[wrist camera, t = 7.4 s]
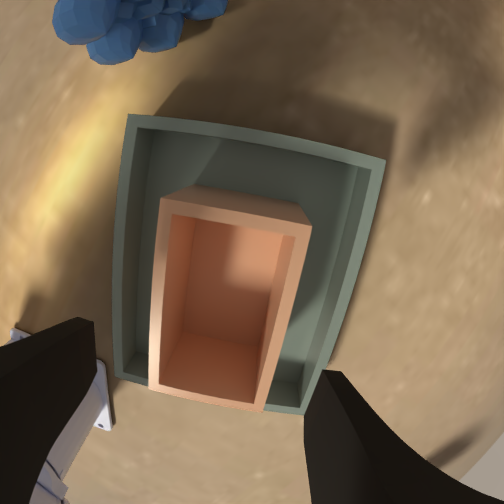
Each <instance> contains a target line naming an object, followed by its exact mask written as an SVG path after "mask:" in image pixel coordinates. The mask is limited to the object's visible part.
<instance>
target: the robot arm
mask: <svg viewBox="0 0 504 504" xmlns="http://www.w3.org/2000/svg"><path fill="white" fill-rule="evenodd" d="M10 335H11V340H9V341H8V342H7V343H6V344H5V345H4V346H1V347H0V504H70V503H69V502H68V500H67V499H65V498H64V496H65V494H66V492H67V490H68V487H67V486H66V485H65V484H64V483H63V482H62V481H63V479H64V477H65V475H66V473H67V472H68V470H69V468H70V466H71V464H72V462H73V461H74V459H75V457H76V455H77V453H78V452H79V450H80V448H81V446H82V445H83V443H84V441H85V439H86V437H87V436H88V434H89V432H90V430H91V429H92V427H93V426H95V427H98V428H101V429H104V430H106V431H111V430H112V428H113V426H112V419H111V412H110V404H109V396H108V387H107V377H106V367H105V364H104V363H103V362H102V361H100V360H98V359H96V349H95V335H94V322H93V321H89V320H86V319H83V318H80V317H76V318H73V319H70V320H68V321H65V322H62V323H60V324H57V325H55V326H53V327H50V328H48V329H45V330H43V331H41V332H38V333H36V334H33V335H30V334H28V333H25V332H23V331H21V330H18V329H16V328H12V329H11V330H10ZM304 448H305V455H306V463H307V470H308V478H309V485H310V493H311V502H312V504H504V501H502V500H499V499H496V498H494V497H491V496H488V495H486V494H483V493H481V492H479V491H476V490H474V489H472V488H470V487H468V486H466V485H464V484H462V483H460V482H459V481H457V480H455V479H454V478H452V477H450V476H448V475H447V474H445V473H444V472H442V471H441V470H439V469H438V468H436V467H435V466H433V465H432V464H431V463H429V462H428V461H427V460H425V459H424V458H423V457H421V456H420V455H419V454H418V453H417V452H415V451H414V450H413V449H412V448H410V447H409V446H408V445H407V444H406V443H405V442H404V441H403V440H402V439H400V438H399V437H398V436H397V435H396V434H395V433H394V432H393V431H392V430H391V429H390V428H389V427H388V426H387V425H386V423H385V422H384V421H383V420H382V419H381V418H380V417H379V416H378V415H377V414H376V412H375V411H374V410H373V409H372V408H371V407H370V406H369V404H368V403H367V402H366V401H365V400H364V398H363V397H362V396H361V395H360V394H359V392H358V391H357V390H356V389H355V388H354V386H353V385H352V384H351V383H350V381H349V380H348V379H347V378H346V377H345V375H344V374H343V373H342V372H341V371H333V370H324V369H322V371H321V374H320V376H319V379H318V382H317V384H316V387H315V389H314V392H313V394H312V397H311V399H310V402H309V404H308V407H307V409H306V412H305V414H304Z"/></svg>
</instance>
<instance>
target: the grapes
mask: <svg viewBox="0 0 504 504" xmlns="http://www.w3.org/2000/svg"><path fill="white" fill-rule="evenodd" d="M227 3H228V0H58V2H57V3H56V5H55V8H54V14H53V20H52V23H53V26H54V29H55V32H56V34H57V37H59V38H60V39H62V40H63V41H65V42H67V43H68V44H70V45H85V44H87V45H86V47H87V50H88V53H89V56H90V58H91V59H92V60H94V61H95V62H97V63H99V64H100V65H115V64H119V63H122V62H126V61H128V60H130V59H132V58H134V56H135V54H136V52H137V50H138V48H139V49H140V50H141V51H143V52H160V51H164V50H169V49H171V48H174V47H176V46H177V44H178V41H179V39H180V36H181V33H182V29H183V25H184V17H185V18H186V19H189V20H195V21H199V20H205V19H211V18H215V17H218V16H221V15H223V14H224V12H225V9H226V7H227Z"/></svg>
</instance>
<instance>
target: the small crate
mask: <svg viewBox="0 0 504 504" xmlns="http://www.w3.org/2000/svg"><path fill="white" fill-rule="evenodd" d="M311 230H312V225H311V223H310V221H309V220H308V218H307V216H306V215H305V213H304V212H303V210H302V208H301V207H300V205H299V203H294V202H290V201H285V200H280V199H275V198H269V197H264V196H259V195H254V194H249V193H243V192H238V191H232V190H227V189H221V188H215V187H209V186H203V185H197V184H193V185H190V186H188V187H185V188H183V189H180V190H178V191H176V192H173V193H171V194H169V195H166V196H164V197H162V198H160V206H159V215H158V223H157V233H156V243H155V253H154V265H153V278H152V292H151V309H150V332H149V389H150V390H154V391H158V392H162V393H166V394H170V395H174V396H178V397H182V398H186V399H191V400H195V401H200V402H205V403H210V404H215V405H220V406H225V407H231V408H236V409H242V410H248V411H255V412H261V413H262V412H263V409H264V406H265V402H266V399H267V396H268V392H269V389H270V386H271V382H272V379H273V376H274V372H275V369H276V365H277V362H278V358H279V355H280V351H281V348H282V344H283V340H284V337H285V333H286V329H287V326H288V322H289V318H290V315H291V311H292V307H293V303H294V299H295V296H296V292H297V288H298V284H299V280H300V276H301V272H302V268H303V264H304V260H305V256H306V252H307V247H308V243H309V239H310V235H311Z"/></svg>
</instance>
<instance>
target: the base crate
mask: <svg viewBox="0 0 504 504" xmlns="http://www.w3.org/2000/svg"><path fill="white" fill-rule="evenodd" d="M385 164H386V160H384V159H380V158H377V157H373V156H370V155H366V154H363V153H359V152H355V151H351V150H348V149H344V148H340V147H336V146H332V145H328V144H323V143H319V142H315V141H310V140H306V139H301V138H297V137H292V136H287V135H282V134H277V133H272V132H267V131H261V130H256V129H250V128H244V127H238V126H232V125H225V124H219V123H212V122H204V121H197V120H189V119H180V118H171V117H161V116H149V115H137V114H128V118H127V123H126V129H125V136H124V142H123V149H122V156H121V164H120V172H119V180H118V189H117V199H116V211H115V224H114V239H113V261H112V338H113V359H114V374H115V377H118V378H121V379H124V380H127V381H131V382H134V383H138V384H141V385H145V386H148V387H149V332H150V309H151V292H152V278H153V265H154V253H155V243H156V233H157V223H158V215H159V206H160V198H162V197H164V196H166V195H169V194H171V193H173V192H176V191H178V190H180V189H183V188H185V187H188V186H190V185H193V184H197V185H203V186H209V187H215V188H221V189H227V190H232V191H238V192H243V193H249V194H254V195H259V196H264V197H269V198H275V199H280V200H285V201H290V202H294V203H299V205H300V207H301V208H302V210H303V212H304V213H305V215H306V216H307V218H308V220H309V221H310V223H311V225H312V230H311V235H310V239H309V243H308V247H307V252H306V256H305V260H304V264H303V268H302V272H301V276H300V280H299V284H298V288H297V292H296V296H295V299H294V303H293V307H292V311H291V315H290V318H289V322H288V326H287V329H286V333H285V337H284V340H283V344H282V348H281V351H280V355H279V358H278V362H277V365H276V369H275V372H274V376H273V379H272V382H271V386H270V389H269V392H268V396H267V399H266V402H265V406H264V409H263V410H264V411H272V412H279V413H287V414H296V415H304V414H305V412H306V409H307V407H308V404H309V402H310V399H311V397H312V394H313V392H314V389H315V387H316V384H317V382H318V379H319V376H320V374H321V371H322V369H324V370H325V369H326V366H327V364H328V361H329V358H330V356H331V353H332V350H333V348H334V345H335V342H336V339H337V336H338V333H339V331H340V328H341V325H342V322H343V319H344V316H345V313H346V310H347V307H348V304H349V301H350V297H351V294H352V291H353V288H354V285H355V281H356V278H357V275H358V271H359V268H360V265H361V261H362V258H363V254H364V250H365V247H366V243H367V240H368V236H369V232H370V228H371V224H372V220H373V216H374V212H375V208H376V204H377V200H378V196H379V191H380V187H381V183H382V178H383V173H384V169H385Z"/></svg>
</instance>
